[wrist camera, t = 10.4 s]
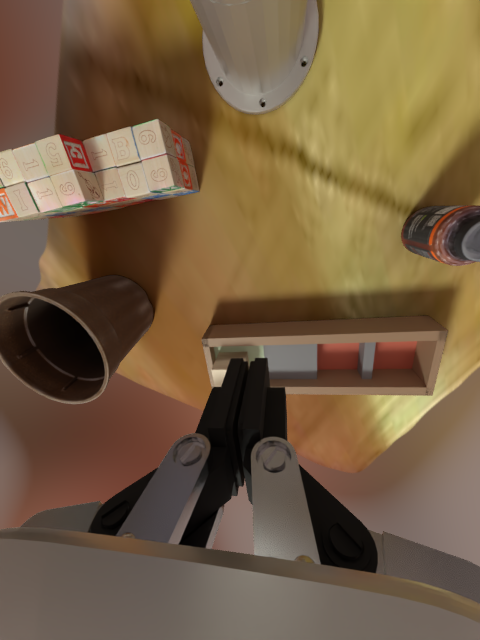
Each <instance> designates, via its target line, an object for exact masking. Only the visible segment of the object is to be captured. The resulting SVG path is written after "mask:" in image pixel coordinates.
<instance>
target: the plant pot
mask: <svg viewBox="0 0 480 640" xmlns="http://www.w3.org/2000/svg"><path fill="white" fill-rule="evenodd" d="M152 321H153V307H152V305H151V304H150V302H149V300H148V297H147V294H146V293H145V291H144V290H143V289H142V288H141V287H140V286H139V285H138V284H136V283H135V282H133V281H132V280H130V279H128V278H125V277H122V276H119V275H109V276H104V277H101V278H97V279H93V280H89V281H85V282H81V283H77V284H73V285H69V286H65V287H61V288H57V289H56V288H48V289H42V290H38V291H34V292H27V291H20V292H12V293H9V294H6V295H3V296H1V297H0V359H1V361H2V362H3V364H4V365H5V366H6V367H7V368H8V370H9V371H10V372H11V373H12V374H13V375H14V376H15V377H17V379H19V380H20V381H21V382H22V383H24V384H25V385H26V386H27V387H29V388H31V389H32V390H34V391H35V392H37V393H39V394H41V395H43V396H45V397H47V398H49V399H52V400H55V401H58V402H62V403H69V404H81V403H86V402H89V401H92V400H94V399H96V398H97V397H98V396H100V395H101V393H102V392H103V391H104V390H105V388H106V386H107V384H108V381H109V379H110V378H111V376H112V375H113V373H115V371H116V370H117V368H118V366H119V364H120V362H121V361H122V360H123V359H124V357H125V356H126V355H127V354H128V353H129V351H130V350H131V349H132V348H133V347H134V346H135V344H136V343H137V342H138V341H139V340H140V339H141V337H142V336H143V335H144V334H145V333H146V332H147V331H148V329H149V328H150V326H151V324H152Z"/></svg>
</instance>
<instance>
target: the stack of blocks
mask: <svg viewBox="0 0 480 640" xmlns="http://www.w3.org/2000/svg"><path fill="white" fill-rule="evenodd" d="M195 192H199V186H198V181H197V176H196V171H195V166H194V161H193V156H192V151H191V147H190V143H189V141H188V140H186V139H185V138H183V137H181V135H179V134H178V133H176V132H175V131H173V130H172V129H170V127H169V126H168V125H166V124H165V123H163V122H162V121H160V120H159V119H154V120H151V121H148V122H145V123H141V124H138V125H135V126H133V127H131V126H130V127H126V128H123V129H119V130H116V131H113V132H109V133H107V134H102V135H98V136H95V137H92V138H89V139H86V140H84V141H83V142H82V141H81V140H78V139H74V138H71V137H68V136H65V135H61V134H57V135H54V136H51V137H48V138H45V139H41V140H39V141H36V142H35V143H32V144H28V145H26V146H22V147H19V148H16V149H9V150H5V151H2V152H0V222H8V221H19V220H36V219H45V218H56V217H62V218H65V217H75V216H81V215H86V214H94V213H99V212H104V211H110V210H115V209H120V208H125V206H130V205H135V204H140V203H143V202H148V201H153V200H163V199H168V198H173V197H178V196H180V195H186V194H190V193H195Z"/></svg>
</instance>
